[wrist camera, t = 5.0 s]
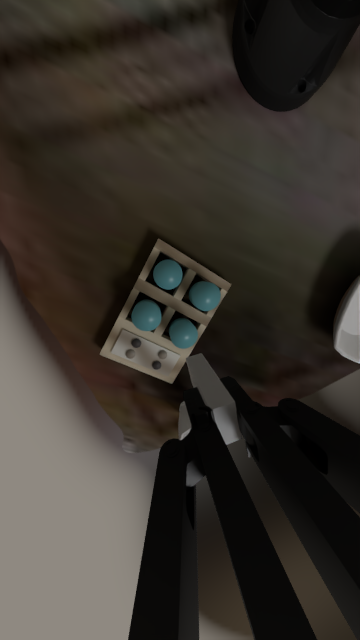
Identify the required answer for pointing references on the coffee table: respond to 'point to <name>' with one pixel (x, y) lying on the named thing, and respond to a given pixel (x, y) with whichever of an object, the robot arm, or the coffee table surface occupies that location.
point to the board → (153, 346)
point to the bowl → (348, 323)
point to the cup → (183, 421)
